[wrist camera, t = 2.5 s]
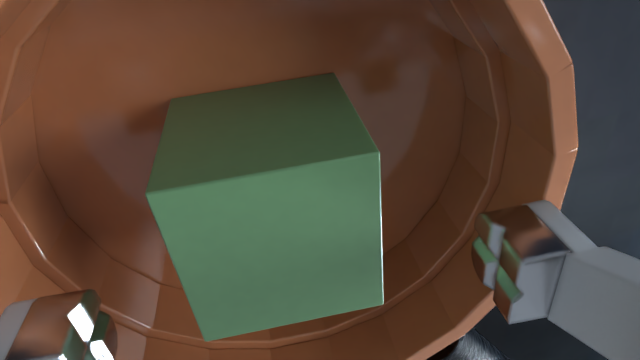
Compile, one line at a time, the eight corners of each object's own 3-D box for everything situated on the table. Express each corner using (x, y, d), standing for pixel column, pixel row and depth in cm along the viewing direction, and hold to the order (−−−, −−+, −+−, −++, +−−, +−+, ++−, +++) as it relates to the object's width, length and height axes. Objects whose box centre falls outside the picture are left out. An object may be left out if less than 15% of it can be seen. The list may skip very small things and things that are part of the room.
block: (210, 225, 14) (204, 343, 11) (170, 97, 12) (143, 194, 8) (345, 200, 15) (384, 305, 11) (334, 71, 12) (380, 151, 8)
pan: (-107, 152, 12) (-259, 271, 8) (268, -326, 8) (301, -499, 5) (264, 347, 19) (273, 456, 15) (550, 140, 15) (651, 218, 12)
